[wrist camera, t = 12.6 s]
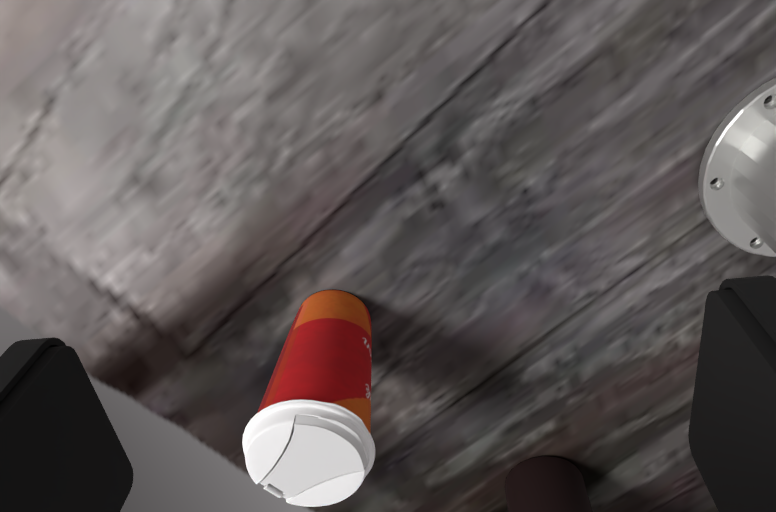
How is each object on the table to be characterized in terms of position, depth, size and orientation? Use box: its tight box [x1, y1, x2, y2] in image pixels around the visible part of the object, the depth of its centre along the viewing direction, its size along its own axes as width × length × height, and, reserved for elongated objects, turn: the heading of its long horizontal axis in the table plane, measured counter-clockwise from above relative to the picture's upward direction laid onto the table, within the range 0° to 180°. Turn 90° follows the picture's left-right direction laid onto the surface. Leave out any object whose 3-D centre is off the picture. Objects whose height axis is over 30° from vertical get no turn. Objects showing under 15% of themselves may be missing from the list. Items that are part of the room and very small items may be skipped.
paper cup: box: [242, 290, 375, 507], centre depth 41 cm, size 8×8×14 cm
